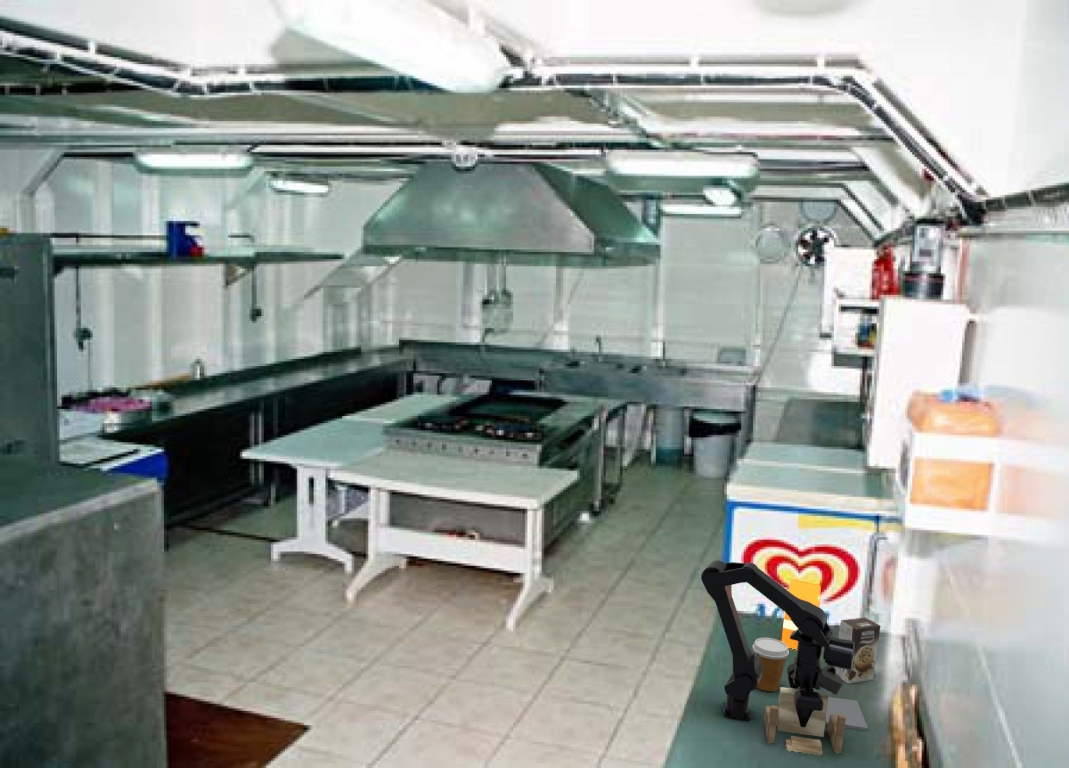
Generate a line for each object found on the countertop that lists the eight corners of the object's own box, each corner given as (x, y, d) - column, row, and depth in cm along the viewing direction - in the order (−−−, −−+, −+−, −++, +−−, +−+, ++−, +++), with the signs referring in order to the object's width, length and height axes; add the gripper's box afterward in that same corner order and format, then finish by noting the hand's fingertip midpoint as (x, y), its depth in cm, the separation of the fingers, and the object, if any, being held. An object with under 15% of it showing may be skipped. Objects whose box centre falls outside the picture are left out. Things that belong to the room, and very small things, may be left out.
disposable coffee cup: (748, 675, 255) (752, 634, 253) (783, 681, 253) (788, 640, 251) (748, 691, 246) (753, 649, 244) (785, 697, 244) (790, 654, 242)
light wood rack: (763, 722, 230) (767, 688, 229) (834, 732, 228) (838, 698, 226) (767, 743, 220) (771, 708, 219) (841, 753, 218) (845, 718, 217)
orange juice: (810, 654, 272) (818, 589, 269) (780, 646, 275) (788, 582, 272) (815, 644, 279) (822, 581, 276) (785, 637, 282) (792, 574, 279)
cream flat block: (775, 724, 230) (780, 686, 228) (821, 730, 228) (826, 692, 227) (777, 730, 227) (781, 692, 225) (823, 737, 225) (828, 698, 224)
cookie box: (848, 684, 254) (855, 629, 251) (832, 673, 260) (839, 619, 257) (874, 680, 258) (881, 625, 255) (857, 669, 263) (864, 616, 261)
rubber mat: (794, 695, 245) (794, 692, 245) (856, 703, 243) (857, 700, 243) (801, 721, 232) (801, 718, 232) (867, 730, 230) (867, 727, 229)
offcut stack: (785, 744, 221) (786, 734, 221) (820, 749, 220) (821, 740, 220) (786, 752, 218) (787, 742, 218) (821, 757, 217) (823, 747, 216)
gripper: (849, 681, 214) (841, 743, 217) (835, 647, 233) (828, 705, 235) (799, 674, 216) (792, 736, 218) (790, 641, 234) (783, 699, 237)
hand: (800, 718), depth 227 cm, fingers open, 8 cm apart
